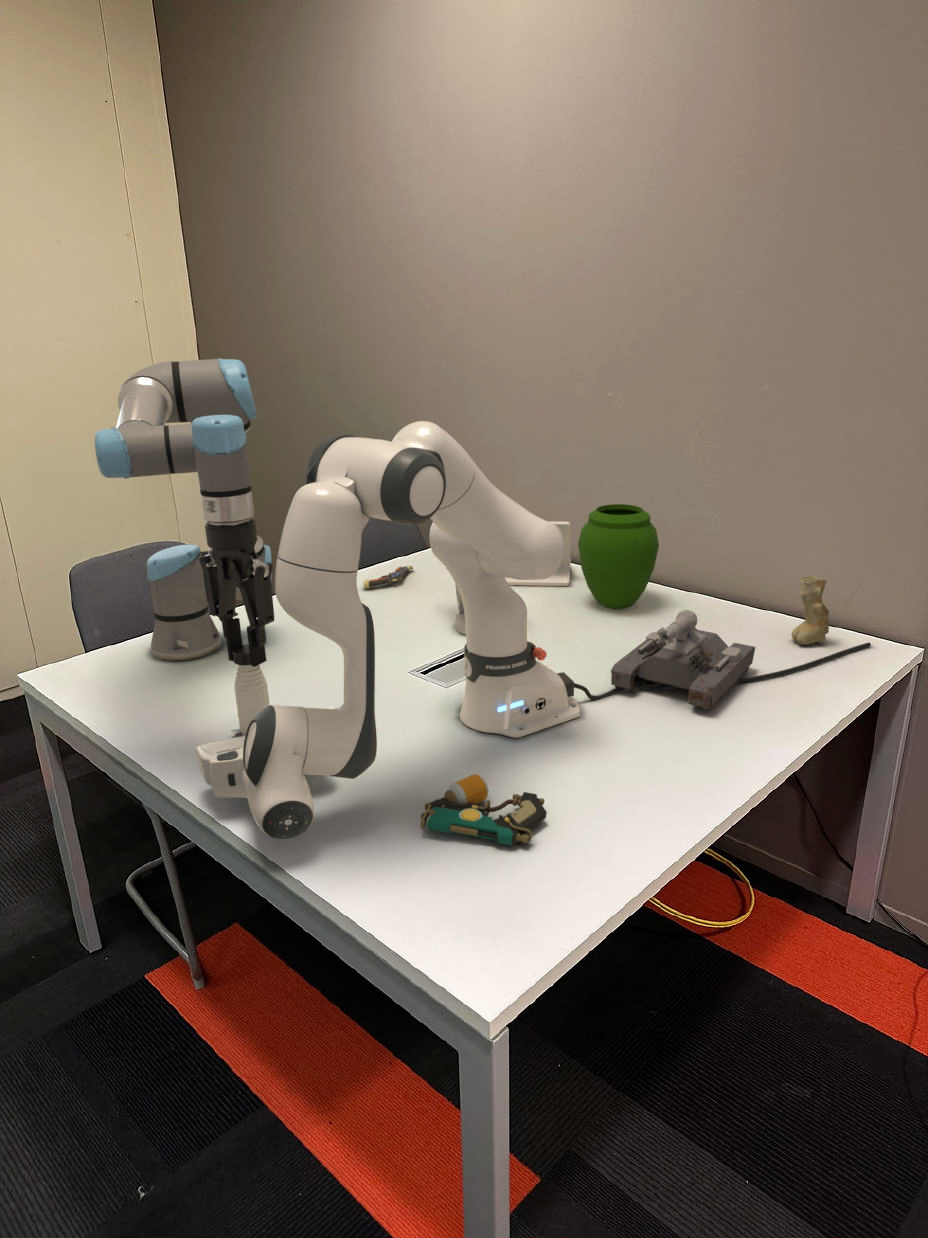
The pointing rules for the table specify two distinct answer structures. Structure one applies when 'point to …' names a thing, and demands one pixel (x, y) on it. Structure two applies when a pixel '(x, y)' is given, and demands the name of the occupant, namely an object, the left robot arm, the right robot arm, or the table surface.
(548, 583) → the tablet stand
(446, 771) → the table surface
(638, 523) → the vase
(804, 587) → the sculpture
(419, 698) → the table surface
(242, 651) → the cap
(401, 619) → the table surface
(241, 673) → the bottle
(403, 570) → the toy gun
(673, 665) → the toy
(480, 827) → the spray gun
